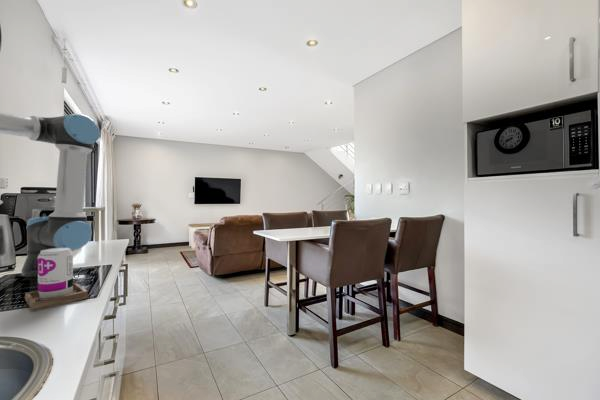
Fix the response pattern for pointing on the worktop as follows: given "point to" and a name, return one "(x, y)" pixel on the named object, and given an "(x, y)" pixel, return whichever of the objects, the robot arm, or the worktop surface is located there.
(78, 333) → the worktop surface
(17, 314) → the worktop surface
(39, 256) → the supplement can
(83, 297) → the walnut tray
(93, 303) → the worktop surface
